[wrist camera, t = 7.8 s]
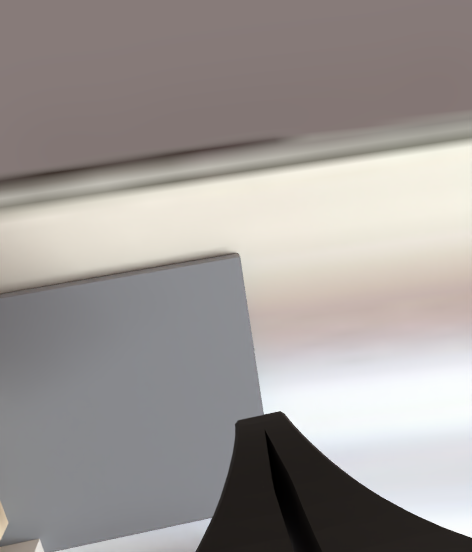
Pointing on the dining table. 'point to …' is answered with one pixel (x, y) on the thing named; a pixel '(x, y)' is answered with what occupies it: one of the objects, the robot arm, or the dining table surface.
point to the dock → (24, 547)
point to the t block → (2, 521)
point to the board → (122, 401)
